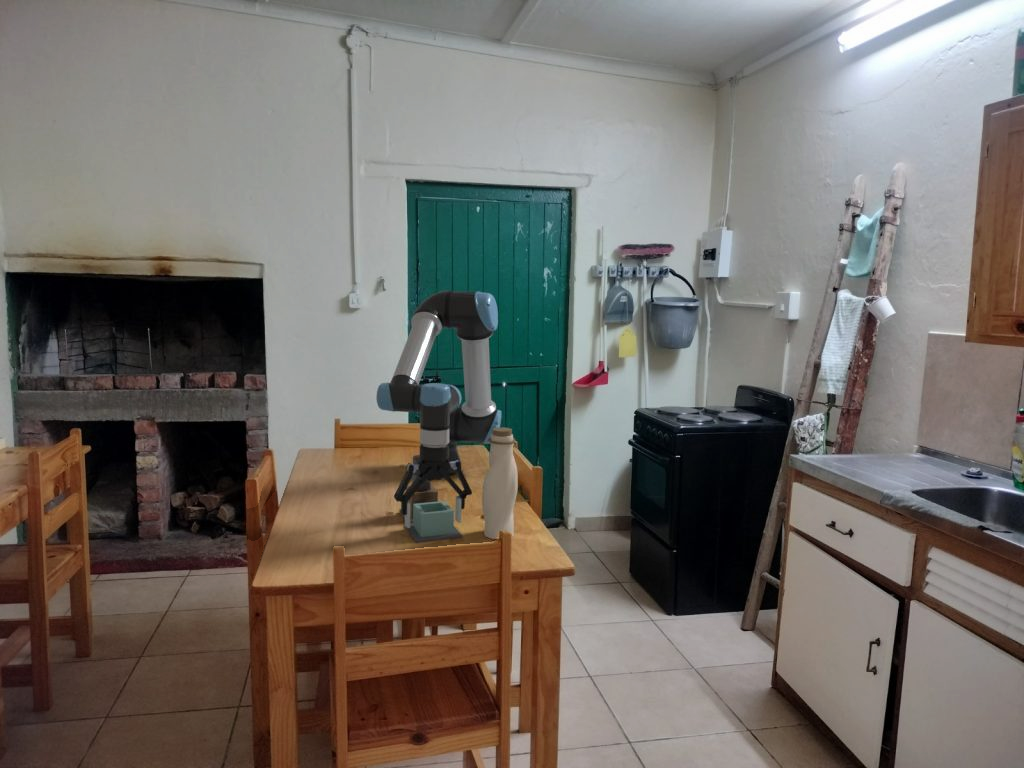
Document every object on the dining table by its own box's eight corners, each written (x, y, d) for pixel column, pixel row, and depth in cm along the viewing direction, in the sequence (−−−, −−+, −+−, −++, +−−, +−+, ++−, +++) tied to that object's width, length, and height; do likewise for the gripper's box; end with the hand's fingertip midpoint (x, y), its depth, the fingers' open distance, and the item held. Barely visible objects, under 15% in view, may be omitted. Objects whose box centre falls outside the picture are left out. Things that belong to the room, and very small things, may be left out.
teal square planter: (444, 522, 183) (444, 500, 182) (453, 533, 175) (453, 511, 174) (413, 525, 179) (413, 503, 178) (421, 537, 172) (421, 514, 171)
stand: (433, 509, 195) (434, 451, 192) (443, 520, 185) (444, 460, 183) (399, 512, 191) (399, 453, 188) (407, 524, 182) (408, 463, 179)
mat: (448, 521, 185) (448, 519, 185) (461, 537, 174) (461, 535, 174) (404, 526, 180) (404, 524, 180) (416, 542, 169) (416, 540, 169)
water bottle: (480, 526, 182) (483, 424, 178) (513, 526, 183) (517, 424, 179) (481, 540, 172) (485, 432, 168) (517, 540, 173) (521, 433, 169)
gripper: (475, 438, 182) (473, 514, 185) (383, 443, 172) (382, 523, 176) (485, 444, 175) (482, 523, 178) (389, 450, 166) (388, 533, 169)
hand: (433, 523), depth 177 cm, fingers open, 13 cm apart
